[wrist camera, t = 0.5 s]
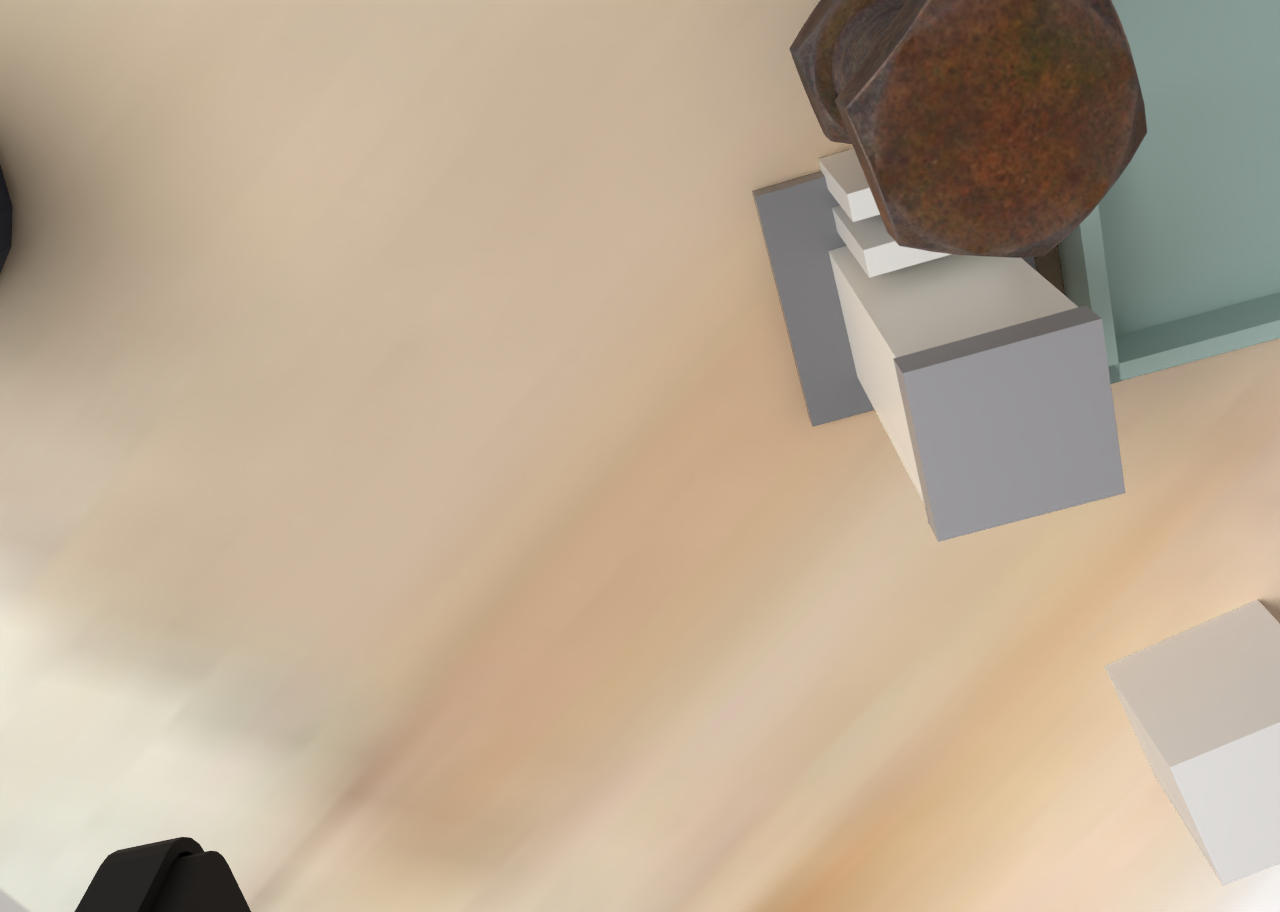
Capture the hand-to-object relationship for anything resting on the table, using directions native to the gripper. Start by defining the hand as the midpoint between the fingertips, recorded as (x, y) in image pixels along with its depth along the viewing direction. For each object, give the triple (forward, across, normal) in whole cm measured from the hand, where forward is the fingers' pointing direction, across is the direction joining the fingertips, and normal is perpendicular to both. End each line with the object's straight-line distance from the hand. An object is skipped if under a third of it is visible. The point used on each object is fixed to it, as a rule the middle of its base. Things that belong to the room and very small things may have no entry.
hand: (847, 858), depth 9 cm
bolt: (+31, -6, -2) cm, 32 cm away
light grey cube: (+32, -15, +24) cm, 43 cm away
